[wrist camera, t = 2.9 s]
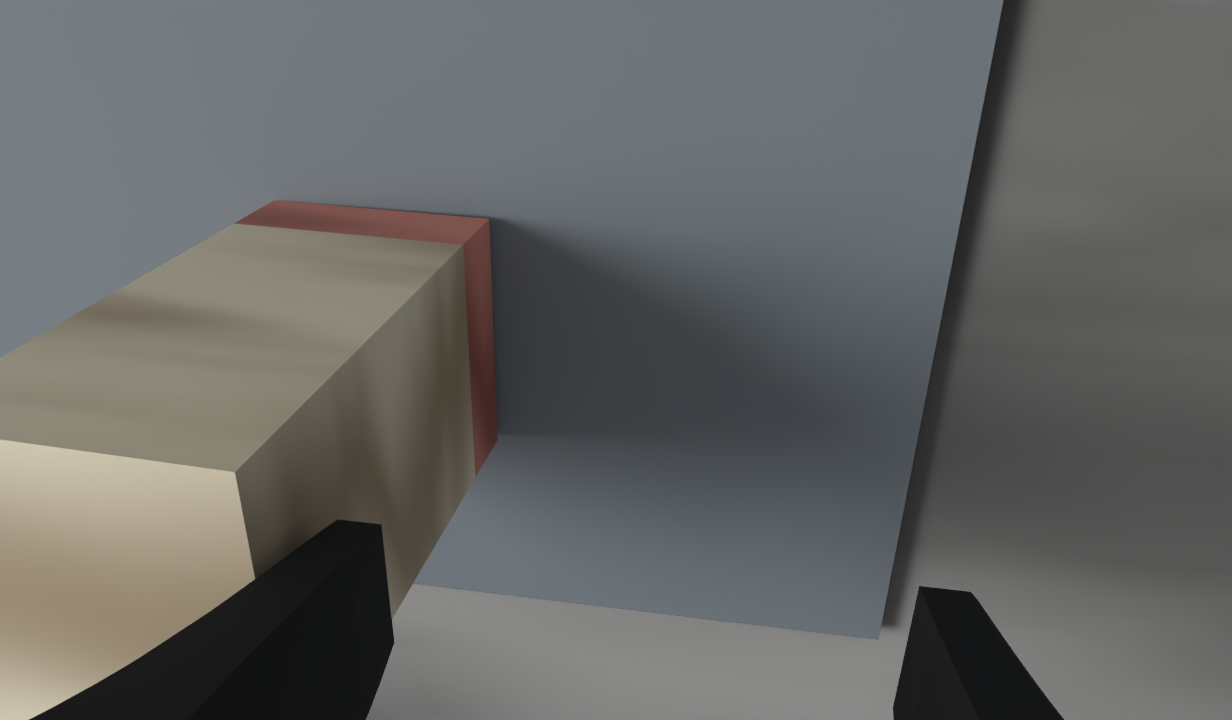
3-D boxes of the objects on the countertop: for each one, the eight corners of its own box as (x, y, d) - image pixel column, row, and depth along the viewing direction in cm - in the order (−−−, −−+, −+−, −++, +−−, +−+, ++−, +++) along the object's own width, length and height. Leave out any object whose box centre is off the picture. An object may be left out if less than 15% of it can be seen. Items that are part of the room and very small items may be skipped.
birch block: (497, 439, 21) (293, 784, 13) (305, 415, 21) (0, 726, 13) (489, 218, 18) (234, 472, 10) (274, 199, 19) (-115, 423, 11)
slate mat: (876, 624, 22) (878, 640, 22) (-51, 514, 25) (-65, 525, 25) (1025, -152, 15) (1033, -154, 15) (-301, -180, 18) (-329, -182, 17)
